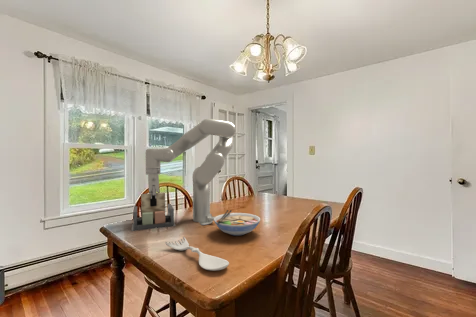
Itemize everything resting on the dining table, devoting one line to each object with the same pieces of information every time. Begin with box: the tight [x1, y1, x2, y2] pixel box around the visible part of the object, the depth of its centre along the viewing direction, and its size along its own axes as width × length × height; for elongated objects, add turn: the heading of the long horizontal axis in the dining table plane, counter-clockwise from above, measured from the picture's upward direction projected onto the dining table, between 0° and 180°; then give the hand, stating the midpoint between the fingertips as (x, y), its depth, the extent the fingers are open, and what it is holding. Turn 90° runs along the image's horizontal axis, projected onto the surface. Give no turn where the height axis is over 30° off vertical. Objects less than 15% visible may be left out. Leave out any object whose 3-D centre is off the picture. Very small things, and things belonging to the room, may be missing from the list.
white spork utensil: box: [165, 236, 230, 272], centre depth 86 cm, size 9×32×4 cm, turn 44°
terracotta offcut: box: [155, 210, 166, 224], centre depth 122 cm, size 5×4×7 cm
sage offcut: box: [142, 212, 153, 225], centre depth 119 cm, size 5×4×7 cm
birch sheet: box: [140, 192, 166, 219], centre depth 126 cm, size 12×2×16 cm, turn 113°
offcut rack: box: [130, 203, 177, 232], centre depth 123 cm, size 21×14×10 cm, turn 113°
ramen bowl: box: [213, 209, 261, 237], centre depth 113 cm, size 25×23×8 cm
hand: (153, 205), depth 126 cm, fingers closed on birch sheet, 2 cm apart
